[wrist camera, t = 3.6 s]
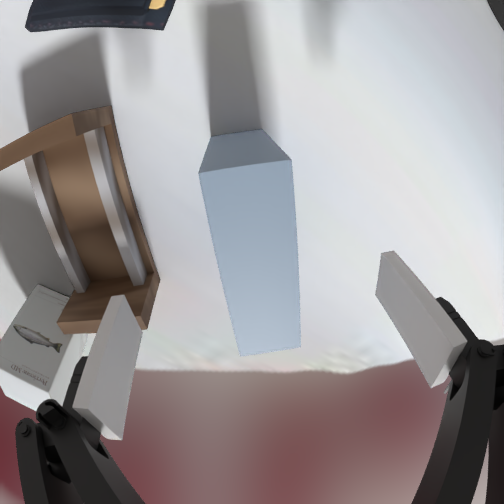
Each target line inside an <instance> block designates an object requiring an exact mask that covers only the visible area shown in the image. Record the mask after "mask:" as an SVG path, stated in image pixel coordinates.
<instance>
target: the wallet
mask: <svg viewBox="0 0 504 504" xmlns="http://www.w3.org/2000/svg"><path fill="white" fill-rule="evenodd" d="M174 3H175V0H33V2H32V5H31V7H30V10H29V13H28V17H27V21H26V25H25V28H26V29H27V30H29V31H30V32H40V31H49V30H58V29H68V28H81V27H116V28H142V29H154V30H164V28H165V26H166V23H167V21H168V18H169V16H170V14H171V11H172V9H173V6H174Z"/></svg>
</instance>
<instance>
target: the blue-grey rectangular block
mask: <svg viewBox="0 0 504 504" xmlns="http://www.w3.org/2000/svg"><path fill="white" fill-rule="evenodd" d="M198 174H199V179H200V184H201V189H202V194H203V199H204V204H205V208H206V213H207V218H208V223H209V227H210V232H211V237H212V241H213V246H214V250H215V255H216V259H217V263H218V268H219V272H220V276H221V281H222V285H223V289H224V293H225V298H226V302H227V306H228V310H229V314H230V318H231V322H232V326H233V330H234V334H235V338H236V342H237V346H238V350H239V354H240V356H247V355H255V354H261V353H268V352H274V351H280V350H286V349H292V348H298V347H301V330H300V292H299V267H298V246H297V228H296V212H295V198H294V184H293V172H292V160H291V159H290V158H289V157H288V155H287V154H286V153H285V152H284V151H283V150H282V149H281V148H280V147H279V146H278V145H277V144H276V143H275V142H274V141H273V140H272V139H271V138H270V137H269V136H268V135H267V134H266V133H265V132H264V131H263V130H262V129H259V130H252V131H244V132H237V133H231V134H224V135H218V136H212V137H211V138H210V141H209V144H208V147H207V149H206V152H205V155H204V158H203V161H202V164H201V167H200V170H199V173H198Z"/></svg>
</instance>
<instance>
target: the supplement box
mask: <svg viewBox="0 0 504 504" xmlns="http://www.w3.org/2000/svg"><path fill="white" fill-rule="evenodd" d="M68 300H69V297H67V296H64V295H62V294H60V293H57V292H55V291H52V290H50V289H48V288H46V287H44V286H42V285H39V284H38V285H37V286H36V287H35V288H34V290H33V291H32V293H31V294H30V296H29V297H28V298H27V300H26V301H25V303H24V304H23V306H22V307H21V309H20V310H19V312H18V314H17V315H16V317H15V318H14V320H13V321H12V323H11V325H10V326H9V328H8V329H7V331H6V333H5V334H4V336H3V338H2V340H1V341H0V386H1V387H2V389H3V391H4V393H5V395H6V396H8V397H10V398H12V399H13V400H15V401H17V402H19V403H21V404H23V405H25V406H27V407H29V408H31V409H33V410H35V411H37V408H38V407H39V405H40V404H41V403H42V402H43V401H45V400H47V399H54V400H56V401H57V402H58V403H59V404H60V405H61V406H62V405H63V402H64V399H65V395H66V392H67V389H68V386H69V383H70V380H71V377H72V376H73V371H74V368H75V366H76V364H77V363H78V361H79V360H80V359H81V356H82V354H83V351H84V349H85V346H86V343H87V333H85V334H63V332H62V331H61V329H60V328H59V326H58V325H57V323H56V322H57V320H58V318H59V317H60V315H61V313H62V311H63V309H64V307H65V306H66V304H67V302H68Z"/></svg>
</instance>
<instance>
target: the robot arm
mask: <svg viewBox="0 0 504 504" xmlns="http://www.w3.org/2000/svg"><path fill="white" fill-rule="evenodd" d="M488 2H489V4H490V6H491V8H492V10H493V12H494V14H495V16H496V18H497V20H498V21H499V23H500V25H501V27H502V28H503V30H504V0H488ZM375 295H376V296H377V298H378V300H379V301H380V303H381V304H382V306H383V307H384V309H385V311H386V312H387V314H388V315H389V317H390V319H391V320H392V322H393V323H394V325H395V327H396V328H397V330H398V332H399V333H400V335H401V337H402V338H403V340H404V342H405V343H406V345H407V347H408V348H409V350H410V352H411V354H412V355H413V357H414V359H415V360H416V362H417V364H418V366H419V368H420V369H421V371H422V373H423V375H424V377H425V378H426V380H427V382H428V384H429V386H430V388H432V387H434V386H436V385H439V384H441V383H443V382H444V381H445V380H446V378H447V376H448V375H450V377H451V378H452V380H451V382H450V383H449V385H448V386H447V388H446V389H445V391H444V393H446V392H447V391H448V395H447V400H446V404H445V408H444V412H443V416H442V420H441V424H440V428H439V431H438V434H437V438H436V441H435V444H434V448H433V450H432V453H431V456H430V459H429V462H428V465H427V468H426V470H425V473H424V476H423V478H422V480H421V483H420V485H419V488H418V490H417V493H416V495H415V497H414V499H413V501H412V504H471V502H472V499H473V496H474V493H475V490H476V487H477V484H478V480H479V477H480V473H481V469H482V466H483V461H484V457H485V453H486V448H487V443H488V438H489V461H488V482H487V493H486V502H485V504H504V345H497V346H493V345H492V344H491V343H490V342H489V341H486V340H479V339H478V338H477V337H476V336H475V334H474V333H473V332H472V330H471V329H470V328H469V326H468V325H467V324H466V322H465V321H464V320H463V319H462V318H461V317H460V315H459V314H458V312H456V310H455V309H454V307H453V306H452V305H451V304H450V303H449V302H448V301H446V300H445V299H443V298H442V297H439V298H436V299H435V298H434V297H433V295H432V294H431V293H430V292H429V291H428V289H427V288H426V287H425V286H424V285H423V283H422V282H421V281H420V280H419V279H418V277H417V276H416V275H415V274H414V273H413V272H412V271H411V269H410V268H409V267H408V266H407V265H406V264H405V263H404V261H403V260H402V259H401V258H400V257H399V256H398V255H397V254H396V253H395V251H390V252H384V253H381V260H380V268H379V275H378V281H377V288H376V294H375ZM142 334H143V332H142V330H141V328H140V326H139V324H138V322H137V320H136V318H135V316H134V314H133V312H132V310H131V308H130V306H129V304H128V302H127V300H126V298H125V295H118V296H111V299H110V301H109V303H108V306H107V308H106V311H105V313H104V316H103V318H102V321H101V323H100V326H99V328H98V331H97V334H96V336H95V339H94V342H93V344H92V347H91V350H90V353H89V356H85V357H81V359H80V360H79V361H78V363H77V364H76V366H75V368H74V371H73V376H72V377H71V380H70V383H69V386H68V389H67V392H66V395H65V399H64V402H63V405H62V406H61V405H60V404H59V403H58V402H57V401H56V400H54V399H47V400H45V401H43V402H42V403H41V404H40V405H39V407H38V408H37V411H36V419H37V420H38V421H39V422H40V423H37V424H36V423H35V422H34V421H33V420H32V419H30V418H24V419H22V420H21V421H20V422H19V423H18V425H17V427H16V433H15V434H16V448H17V458H18V466H19V473H20V480H21V485H22V491H23V496H24V501H25V504H145V502H144V501H143V500H142V499H141V497H140V496H139V495H138V494H137V492H136V491H135V490H134V488H133V487H132V486H131V484H130V483H129V482H128V480H127V479H126V477H125V476H124V475H123V473H122V472H121V470H120V469H119V467H118V466H117V464H116V463H115V461H114V460H113V458H112V457H111V455H110V454H109V452H108V450H107V449H106V447H105V446H104V444H103V443H102V442H101V440H100V434H102V435H104V436H105V437H106V438H107V439H114V440H122V439H123V431H124V425H125V418H126V413H127V407H128V401H129V396H130V390H131V384H132V380H133V375H134V370H135V365H136V360H137V356H138V351H139V347H140V342H141V338H142Z"/></svg>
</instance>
